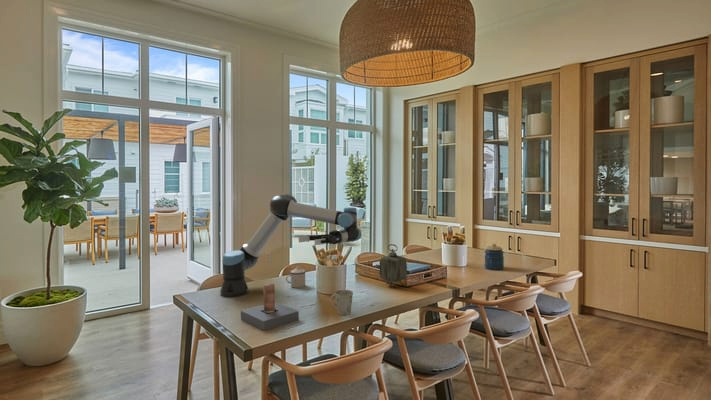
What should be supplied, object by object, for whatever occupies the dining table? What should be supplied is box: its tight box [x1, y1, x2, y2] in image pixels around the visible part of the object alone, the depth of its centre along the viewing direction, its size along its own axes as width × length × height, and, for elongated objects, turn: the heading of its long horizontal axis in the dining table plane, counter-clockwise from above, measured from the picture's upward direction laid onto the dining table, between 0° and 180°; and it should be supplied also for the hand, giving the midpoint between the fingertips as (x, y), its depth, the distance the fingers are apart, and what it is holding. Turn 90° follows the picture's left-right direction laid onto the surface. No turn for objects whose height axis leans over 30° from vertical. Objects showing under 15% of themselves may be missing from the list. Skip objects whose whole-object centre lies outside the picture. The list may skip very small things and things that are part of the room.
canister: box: [484, 243, 505, 271], centre depth 277 cm, size 13×13×18 cm
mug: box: [329, 289, 354, 316], centre depth 187 cm, size 8×13×10 cm, turn 58°
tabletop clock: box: [379, 243, 408, 288], centre depth 233 cm, size 14×9×25 cm, turn 50°
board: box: [240, 301, 300, 331], centre depth 179 cm, size 20×18×4 cm
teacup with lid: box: [285, 266, 306, 289], centre depth 236 cm, size 12×9×12 cm
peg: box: [263, 283, 276, 314], centre depth 178 cm, size 5×5×16 cm
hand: (306, 241), depth 202 cm, fingers open, 13 cm apart
